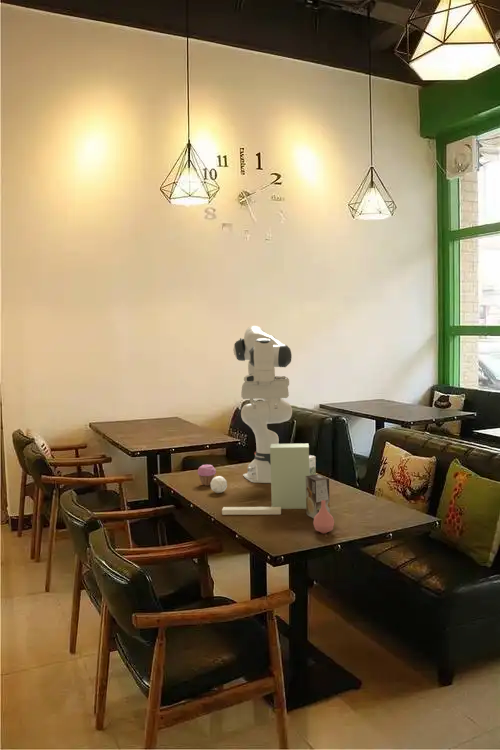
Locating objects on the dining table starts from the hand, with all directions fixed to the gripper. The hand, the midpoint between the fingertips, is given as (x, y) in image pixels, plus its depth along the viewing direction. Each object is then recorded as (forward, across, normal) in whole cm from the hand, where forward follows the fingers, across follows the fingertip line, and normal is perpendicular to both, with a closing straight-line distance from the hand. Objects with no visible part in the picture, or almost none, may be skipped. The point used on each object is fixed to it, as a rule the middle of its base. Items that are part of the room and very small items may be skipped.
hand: (265, 408), depth 279 cm
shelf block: (+41, -10, +5) cm, 43 cm away
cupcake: (+41, +31, -32) cm, 61 cm away
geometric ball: (+41, +24, -18) cm, 51 cm away
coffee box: (+41, -21, +20) cm, 50 cm away
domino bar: (+39, +6, +15) cm, 42 cm away
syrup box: (+41, -18, -27) cm, 52 cm away
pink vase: (+41, -22, +39) cm, 61 cm away
